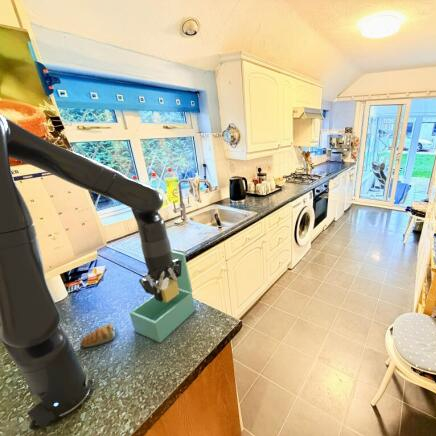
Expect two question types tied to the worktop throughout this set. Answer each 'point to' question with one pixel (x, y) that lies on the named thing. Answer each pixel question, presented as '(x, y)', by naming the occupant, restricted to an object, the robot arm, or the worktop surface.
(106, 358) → the worktop surface
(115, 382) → the worktop surface
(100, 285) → the worktop surface
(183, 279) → the lid
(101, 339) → the pastry
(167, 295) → the block
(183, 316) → the cool box
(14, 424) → the worktop surface
